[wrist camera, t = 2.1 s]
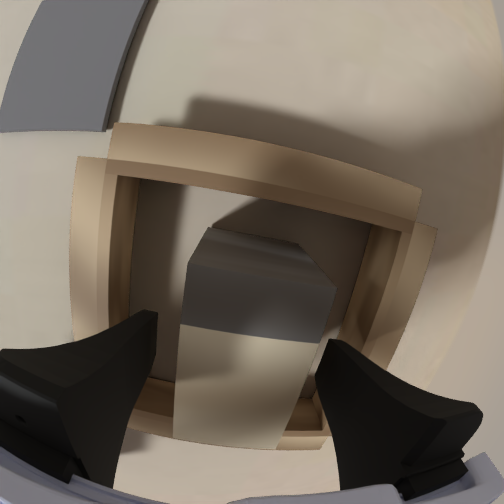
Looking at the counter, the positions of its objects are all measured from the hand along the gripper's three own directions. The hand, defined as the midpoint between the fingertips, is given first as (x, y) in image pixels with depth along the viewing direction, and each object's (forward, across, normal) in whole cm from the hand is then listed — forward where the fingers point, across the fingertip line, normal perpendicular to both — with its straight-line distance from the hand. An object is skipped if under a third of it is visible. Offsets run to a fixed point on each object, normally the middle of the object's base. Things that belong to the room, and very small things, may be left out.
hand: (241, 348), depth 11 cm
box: (+4, 0, 0) cm, 4 cm away
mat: (+4, +13, -13) cm, 19 cm away
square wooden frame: (+4, 0, 0) cm, 4 cm away
